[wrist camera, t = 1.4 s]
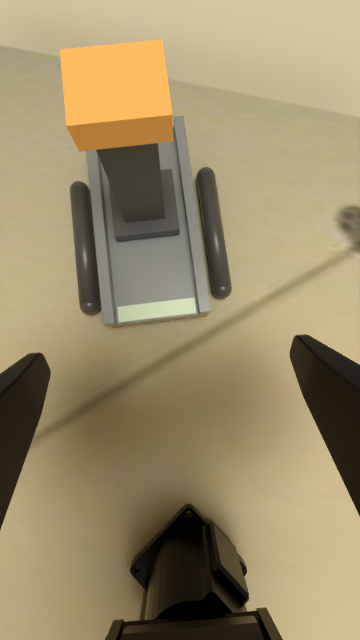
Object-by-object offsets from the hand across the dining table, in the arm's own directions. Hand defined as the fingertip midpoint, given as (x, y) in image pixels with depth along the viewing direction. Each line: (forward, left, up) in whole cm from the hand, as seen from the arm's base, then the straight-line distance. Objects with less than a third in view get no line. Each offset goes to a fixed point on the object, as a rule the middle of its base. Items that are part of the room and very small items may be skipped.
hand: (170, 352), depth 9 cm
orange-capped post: (+6, +10, -10) cm, 15 cm away
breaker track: (+6, +9, -13) cm, 16 cm away
